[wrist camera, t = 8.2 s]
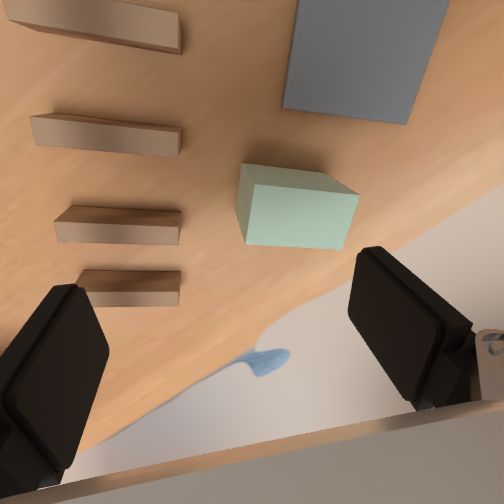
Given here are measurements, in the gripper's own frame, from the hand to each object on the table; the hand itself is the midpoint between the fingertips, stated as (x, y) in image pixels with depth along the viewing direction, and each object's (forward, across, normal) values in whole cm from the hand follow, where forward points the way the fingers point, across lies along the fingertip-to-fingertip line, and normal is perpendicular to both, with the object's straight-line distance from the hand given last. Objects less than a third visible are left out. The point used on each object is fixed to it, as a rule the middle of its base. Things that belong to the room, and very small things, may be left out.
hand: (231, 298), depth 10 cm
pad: (+14, -11, -9) cm, 20 cm away
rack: (+14, +6, -1) cm, 16 cm away
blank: (+14, -5, +1) cm, 15 cm away
